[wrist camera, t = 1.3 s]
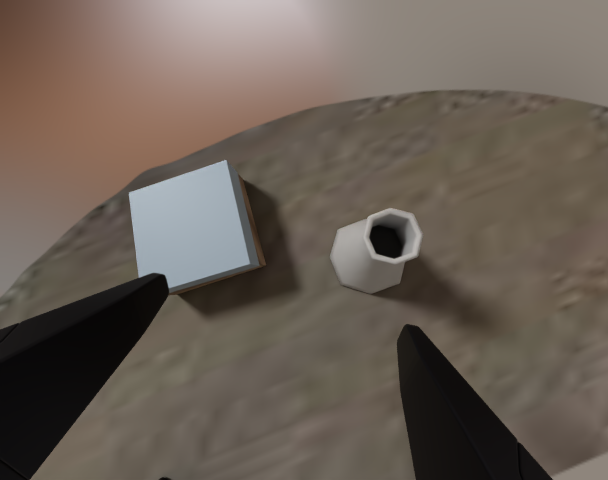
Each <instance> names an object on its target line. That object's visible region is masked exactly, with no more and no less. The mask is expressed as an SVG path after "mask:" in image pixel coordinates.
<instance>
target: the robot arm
mask: <svg viewBox="0 0 608 480" xmlns="http://www.w3.org/2000/svg"><path fill="white" fill-rule="evenodd" d="M168 295H169V287H168V283H167V278H166V276H165V275H164V274H160V273H151V274H148V275H145V276H142V277H140V278H137V279H134V280H132V281H129V282H126V283H124V284H121V285H118V286H116V287H113V288H110V289H108V290H105V291H102V292H100V293H97V294H94V295H92V296H89V297H86V298H84V299H81V300H78V301H76V302H73V303H70V304H67V305H65V306H62V307H59V308H57V309H54V310H51V311H49V312H46V313H43V314H41V315H38V316H35V317H33V318H30V319H27V320H25V321H22V322H21V323H16V324H14V325H11V326H8V327H6V328H3V329H0V480H30V479H31V478H32V476H33V475H34V474H35V472H36V471H37V470H38V469H39V467H40V466H41V465H42V463H43V462H44V461H45V460H46V458H47V457H48V456H49V455H50V453H51V452H52V451H53V449H54V448H55V447H56V446H57V444H58V443H59V442H60V440H61V439H62V438H63V437H64V435H65V434H66V433H67V431H68V430H69V429H70V428H71V426H72V425H73V424H74V423H75V421H76V420H77V419H78V417H79V416H80V415H81V414H82V412H83V411H84V410H85V408H86V407H87V406H88V405H89V403H90V402H91V401H92V399H93V398H94V397H95V396H96V394H97V393H98V392H99V390H100V389H101V388H102V387H103V385H104V384H105V383H106V382H107V380H108V379H109V378H110V376H111V375H112V374H113V373H114V371H115V370H116V369H117V367H118V366H119V365H120V364H121V362H122V361H123V360H124V358H125V357H126V356H127V355H128V353H129V352H130V351H131V350H132V348H133V347H134V346H135V344H136V343H137V342H138V341H139V339H140V338H141V337H142V335H143V334H144V333H145V331H146V330H147V328H148V327H149V325H150V324H151V322H152V321H153V319H154V317H155V316H156V314H157V313H158V311H159V310H160V308H161V307H162V305H163V303H164V302H165V300H166V299H167V297H168ZM397 353H398V367H399V381H400V392H401V398H402V404H403V410H404V415H405V421H406V426H407V432H408V438H409V443H410V449H411V454H412V460H413V466H414V471H415V477H416V480H553V479H552V478H551V477H550V476H549V475H548V474H547V472H546V471H545V470H544V469H543V468H542V467H541V466H540V465H539V464H538V462H537V461H536V460H535V459H534V458H533V457H532V456H531V455H530V453H529V452H528V451H527V450H526V449H525V448H524V446H523V445H522V444H521V443H519V442H518V441H517V439H516V437H515V436H514V435H513V434H512V433H511V432H510V431H509V429H508V428H507V427H506V426H505V425H504V424H503V423H502V421H501V420H500V419H499V418H498V417H497V416H496V415H495V413H494V412H493V411H492V410H491V409H490V408H489V407H488V405H487V404H486V403H485V402H484V401H483V400H482V399H481V397H480V396H479V395H478V394H477V393H476V392H475V391H474V389H473V388H472V387H471V386H470V385H469V384H468V383H467V381H466V380H465V379H464V378H463V377H462V376H461V375H460V373H459V372H458V371H457V370H456V369H455V368H454V367H453V365H452V364H451V363H450V362H449V361H448V360H447V359H446V357H445V356H444V355H443V354H442V353H441V352H440V350H439V349H438V348H437V347H436V346H435V345H434V344H433V342H432V341H431V340H430V339H429V338H428V337H427V336H426V334H425V333H424V332H423V331H422V330H421V329H420V328H419V327H418V326H415V325H410V324H406V325H404V327H403V329H402V331H401V333H400V335H399V338H398V340H397ZM159 480H167V479H166V478H164V477H162V478H160V479H159Z"/></svg>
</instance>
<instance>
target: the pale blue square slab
mask: <svg viewBox="0 0 608 480" xmlns="http://www.w3.org/2000/svg"><path fill="white" fill-rule="evenodd" d="M129 198H130V206H131V215H132V223H133V231H134V240H135V248H136V257H137V265H138V273H139V278H140V277H142V276H145V275H148V274H151V273H160V274H164V275H165V276H166V278H167V283H168V287H169V293H171V292H175V291H178V290H181V289H185V288H188V287H191V286H195V285H198V284H201V283H205V282H208V281H211V280H215V279H218V278H221V277H225V276H228V275H231V274H235V273H238V272H241V271H245V270H248V269H251V268H255V267H258V266H259V262H258V257H257V253H256V249H255V245H254V241H253V236H252V232H251V228H250V224H249V220H248V215H247V211H246V207H245V203H244V198H243V194H242V190H241V186H240V182H239V177H238V173H237V172H236V170H235V169H234V168H233V167H232V166H231V165H230V164H229V162H228V161H227V160H224V161H222V162H219V163H216V164H213V165H210V166H207V167H204V168H201V169H198V170H195V171H192V172H189V173H186V174H183V175H180V176H177V177H174V178H171V179H168V180H165V181H162V182H159V183H156V184H153V185H151V186H148V187H145V188H142V189H139V190H136V191H133V192H130V193H129Z"/></svg>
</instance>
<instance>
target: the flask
mask: <svg viewBox="0 0 608 480" xmlns="http://www.w3.org/2000/svg"><path fill="white" fill-rule="evenodd" d="M423 235H424V234H423V232H422V230H421V228H420V226H419V224H418V222H417V220H416V218H415V216H414V214H413V213H409V212H405V211H401V210H396V209H392V208H389V209H386V210H384V211H381V212H378V213H376V214H373V215H370V216H368V219H364V220H361V221H358V222H356V223H353V224H350V225H348V226H345V227H343V228H340V229H338V230H337V234H336V237H335V241H334V244H333V247H332V251H331V254H330V259H331V261H332V264H333V266H334V269H335V272H336V274H337V277H338V279H339V282H340V285H343V286H346V287H349V288H352V289H356V290H359V291H362V292H365V293H369V294H372V293H375V292H378V291H381V290H383V289H386V288H389V287H392V286H395V285H397V284H400V281H401V277H402V273H403V269H404V265H405V262H406V261H409V260H411V259H414V258H417V257H418V256H419V252H420V247H421V243H422V239H423Z"/></svg>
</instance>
